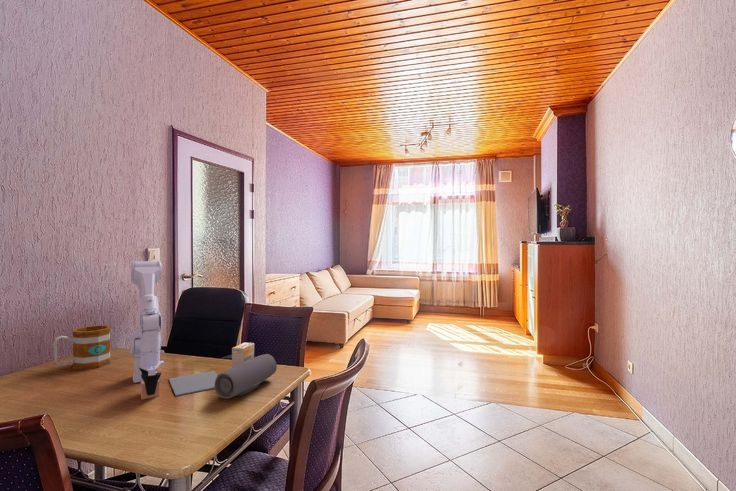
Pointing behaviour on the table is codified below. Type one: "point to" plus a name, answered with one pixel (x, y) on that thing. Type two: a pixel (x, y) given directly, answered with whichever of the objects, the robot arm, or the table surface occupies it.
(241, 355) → the supplement box
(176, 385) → the gray placemat
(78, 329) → the mug
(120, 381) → the table surface
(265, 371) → the bluetooth speaker
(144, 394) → the terracotta cube
